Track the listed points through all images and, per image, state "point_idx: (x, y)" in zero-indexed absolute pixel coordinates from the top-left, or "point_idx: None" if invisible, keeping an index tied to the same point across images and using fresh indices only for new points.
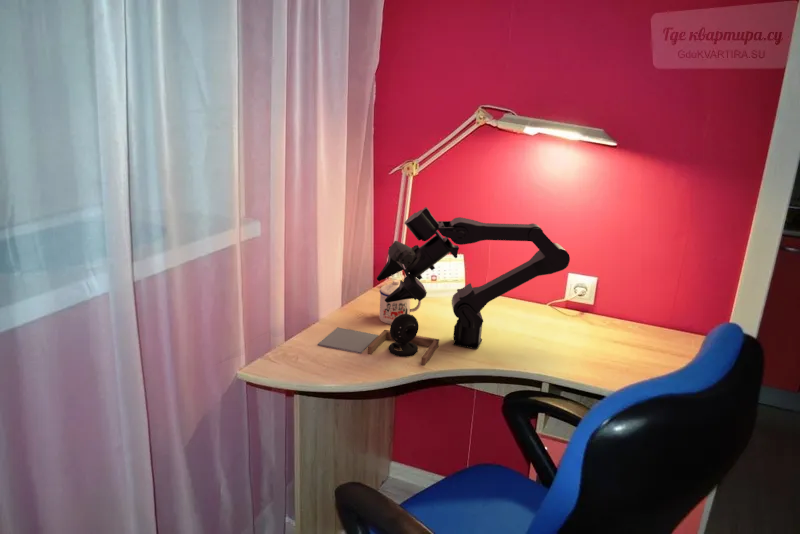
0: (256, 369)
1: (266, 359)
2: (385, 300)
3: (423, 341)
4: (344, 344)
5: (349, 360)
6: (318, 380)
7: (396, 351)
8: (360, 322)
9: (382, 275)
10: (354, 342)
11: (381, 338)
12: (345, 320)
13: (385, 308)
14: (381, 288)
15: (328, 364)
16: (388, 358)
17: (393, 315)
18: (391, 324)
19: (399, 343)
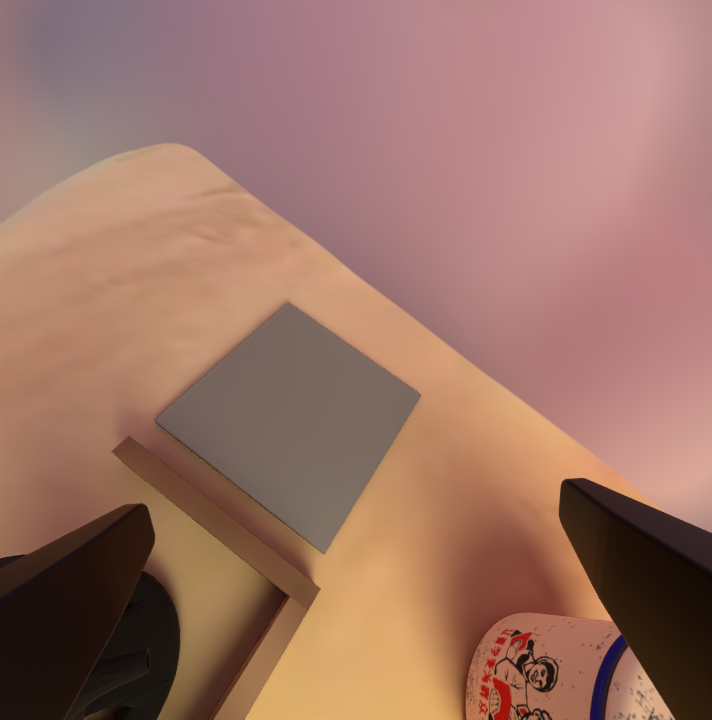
0: (178, 157)
1: (230, 185)
2: (121, 509)
3: None
4: (257, 378)
5: (114, 364)
6: (9, 240)
7: None
8: (483, 502)
9: (624, 555)
10: (265, 419)
11: (222, 541)
12: (497, 445)
13: (536, 646)
14: None
15: (118, 294)
16: (35, 541)
17: (494, 702)
18: (8, 563)
19: None
